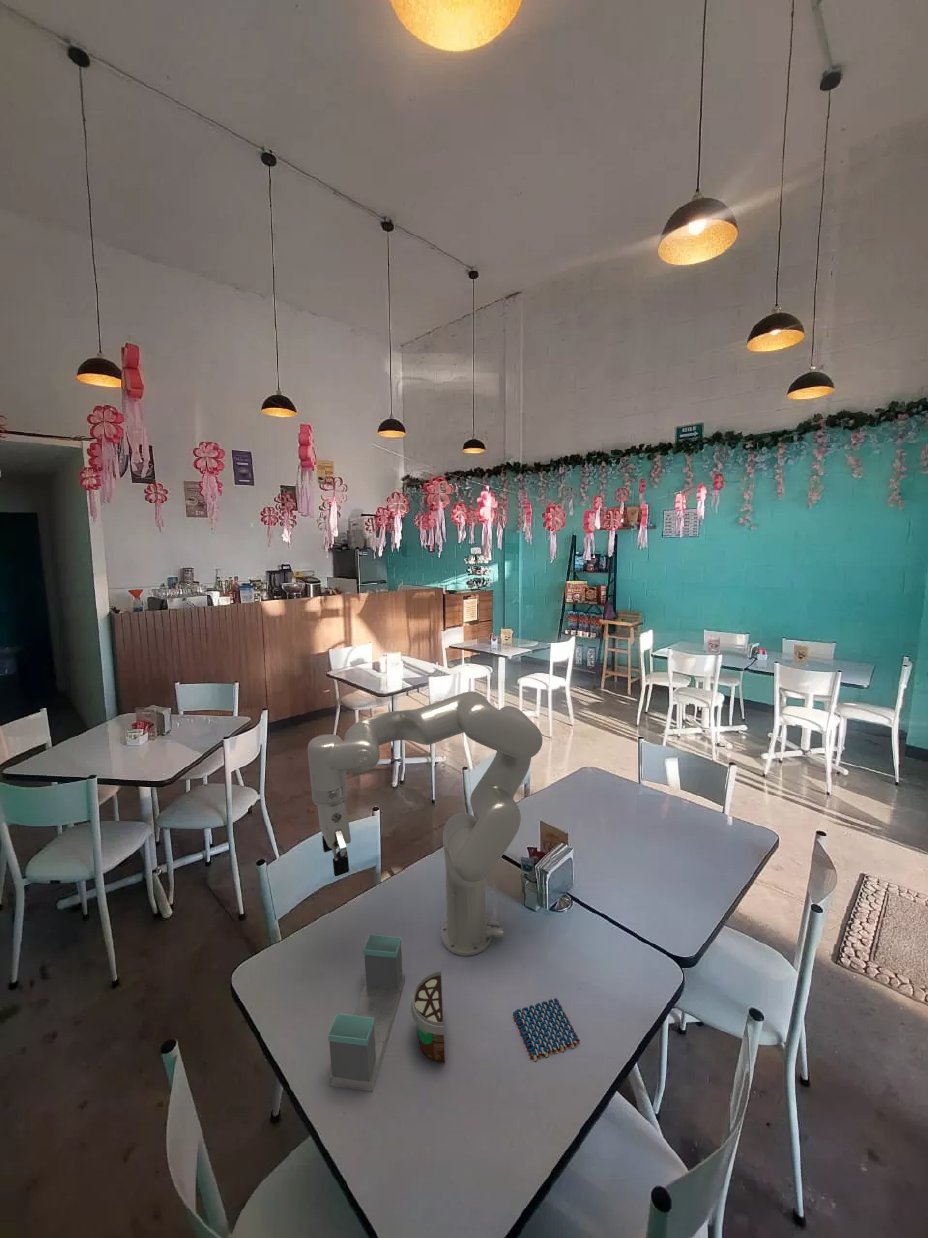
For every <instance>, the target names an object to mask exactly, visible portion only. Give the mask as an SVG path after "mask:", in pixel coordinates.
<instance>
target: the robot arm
mask: <svg viewBox="0 0 928 1238" xmlns="http://www.w3.org/2000/svg"><path fill="white" fill-rule="evenodd" d="M346 730H347V731H346V732H345V734H344V737H343V738H344V739H342V738H341V737H340V736H339V735H337V734H332V733H330V734H328V733H327V734H321V735H317V736H316V737H313V738H312V739H310V740H309V742H308V745H307V757H308V766H309V776H310V788H311V798H312V803H313V804H314V805H316V806H317V813H318V814H317V815H318V822H319V823H318V824H319V828H320V832H321V834H322V835H321V840H322V848H323V852H324V853H329V852H331V851H332V854H333V858H332V867H333V875H334V876H335V877H339V876H341V875H343V874H344V875H345V874H347V873H349V872H350V866H349V865H350V864H349V855H348V851H347V849H348V848H347V844H350V843H351V841H352V837H351V830H350V829H351V828H350V823H349V814H348V810H347V809H348V808H347V804H346V799H347V797H348V783H347V773H346V772H351V773H363V772H368V771H371V770H373V769H374V768H375V767H376V766H377V765H378V763H379V762H380V760H381V759H380V757H381V750H380V746H383V745H385V744H388V743H393V742H396V741H408V742H409V741H410V742H413V743H417V744H419V745H425V746H430V745H433V744H436V743H439V742H441V741H443V740H446V739H449V738H452V737H455V736H458V735H461V734H463V733H464V734H465V736H466V737H468V738H469V739H470V740H472V741H474V742H475V743H478V744H479V745H482V746H484V747H487V748H489V749H491V750H494V751H495V752H496V753H495V756H494V758H493V760H492V761H491V763H490V764H489V767H488V768H487V769H486V771H485V772H484V773H483V775H482V777H481V778H480V780H479V781H478V782H477V784H476V786H475V787H474V788H473V790H472V792H471V795H470V798H469V799H470V800H469V803H470V807H471V809H472V812H473V815H472V814H470V813H467V812H458V813H454V814H453V815H452V816H450V817H449V818H448V820H447V821H446V822H445V824H444V827H443V831H442V842H443V845H442V846H443V852H444V865H445V867H444V868H445V890H446V891H445V892H446V893H445V895H446V922H445V923H444V924H443V926H442V927H441V932H440V935H441V937H440V938H441V942H442V944H443V946H444V947H445V948H446V949H447V950H448V951H449V952H451V953H453V954H455V955H457V956H463V957H464V956H467V957H468V956H474V955H477V954H480V953H482V952H483V951H485V950H486V949H487V948H488V947H489V945H491V942H492V939H493V937H496V938H504V934H505V932H504V931H505V928H504V927H500V921H499V920H498V921H495V920H494V921H492V920H491V919H489V914H488V912H486V878H487V876H489V874H491V873H492V871H493V870H494V869H495V867H496V866H497V864H498V863H499V862H500V860H501V858H502V856H503V855H504V854H505V853H506V851H507V850H508V848H509V847H510V845H511V844H512V842H513V840H514V839H515V837H516V836H517V834H518V832H519V829H520V826H521V819H522V818H521V816H522V815H521V810H520V808H519V806H518V804H517V802H516V801H515V799H514V797H515V795H516V793H517V792H518V789H519V788H520V786H521V785H522V783H523V781H524V779H525V778H526V776H527V774H528V772H529V769H530V765H531V761H532V758H533V757H534V756H536V755H537V754H539V751H540V750H541V749H542V746H543V735H542V732H541V730H540V729H539V727H538V726H537V725H536V723H534V721H533V720H531V719H530V718H529V717H528V716H527V715H526V714H525V713H524V712H523V711H521V710H520V709H519V708H518V707H515V706H512V705H505V706H503V707H501V708H500V709H499V708H496V707H495V706H494V705H492V704H491V703H490V701H489V700H488V699H487V698H486V697H485V696H483V695H482V693H479V692H478V691H471V690H470V691H467V692H462V693H459V694H457V695H456V694H455V695H453V696H451V697H447V698H445V699H442V700H439V701H436V702H433V703H431V704H428V705H425V706H422V707H419V708H415V709H405V710H404V709H402V710H396V711H395V710H392V711H388V712H384V713H380V714H379V713H378V714H376V715H373V716H370V717H368V718H364V719H362V720H360V721H358V722H355V723H354V724H352V725H351V726H350V727H349V728H348V729H346ZM336 849H338V851H337V850H336Z"/></svg>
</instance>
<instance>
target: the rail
mask: <svg viewBox="0 0 928 1238" xmlns="http://www.w3.org/2000/svg"><path fill="white" fill-rule="evenodd" d="M405 982H406V975H405V973H403V972H402V976H401V980H400V983H399V986H398V989H392V988H383V987H374V986H366V981H365V983H364V985H363V988H362V991H361V992H360V995H359V998H358V1001H357V1003H356V1005H355V1008H354V1011H353V1014H352V1015H354V1016H362V1017H371V1018H374V1020H375V1024H374V1032H375V1049H376V1062H375V1065H374V1068H373V1071H372V1075H371V1078H370V1081H369V1082H365V1081H358V1080H351V1079H343V1078H336V1077H332V1070H331V1071H330V1073H329V1086H330V1087H335V1088H344V1089H352V1090H356V1091H357V1090H358V1091H364V1092H371V1093H372V1092H373V1091H374V1087H375V1084H376V1081H377V1078H378V1074H379V1071H380V1067H381V1064H382V1060H383V1058H384V1054H385V1050H386V1047H387V1043H388V1040H389V1037H390V1034H391V1029H392V1027H393V1023H394V1019H395V1016H396V1012H397V1011H398V1006H399V1003H400V999H401V996H402V993H403V989H404V985H405Z"/></svg>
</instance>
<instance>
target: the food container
mask: <svg viewBox="0 0 928 1238" xmlns="http://www.w3.org/2000/svg"><path fill="white" fill-rule="evenodd" d="M442 983H443V982H442V970H439V971H437V970H436V971H434V972H432V973H429V974H427V975H426V976H424V977H423V978H422V979H421V980H420V981H419V983H418V984H417V985H416V988H415V989H414V991H413V994H412V998H411V999H412V1000H411V1004H410V1011H411V1016H412V1018H413V1021H414V1022H415V1023H416V1031H417V1032H416V1033H417V1041H418V1046H419V1047H418V1048H419V1049H420V1052H421V1053H422V1055H423V1056H424V1058H426V1059H428V1060H429V1061H431V1062H435V1063H439V1064H445V1063H446V1055H445V1054H446V1052H445V1027H444V1025H445V1023H444V1016H443V1014H444V1013H443V985H442Z"/></svg>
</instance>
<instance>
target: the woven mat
mask: <svg viewBox="0 0 928 1238" xmlns="http://www.w3.org/2000/svg"><path fill="white" fill-rule="evenodd" d="M512 1016H513V1017H514V1018H513V1020H514V1021H515V1023H516V1024H517V1028H518V1031H520V1033H519V1034H520V1036H521V1038H522V1039H523V1042H524V1044H525V1047H526V1050H528V1051H527V1052H528V1054H530V1056H529V1058H530V1059H531V1060H533V1061H538V1057H539V1059H541V1058H543V1055H544V1057H545V1058H548V1057H549V1055H553V1052H554V1053H555V1055H558V1054H560V1052H561V1053H562V1052H564V1051H565V1050H568V1049H569V1046H570V1048H571V1049H573V1048H575V1046H580V1045H579V1043H580V1041H581V1040H580V1038H579V1037H578V1035H577V1032H575V1031H574V1027H573V1025H572V1024H571V1022H570V1020H569V1018H568V1016H567V1015H566V1013H565V1011H563V1006H562V1005H561V1004H560V1001H559V999H558V998H557V997H555V998H552V997H550V999H546V1000H545V1001H544V1000H541V1002H540V1001H539V1002H538V1003H537V1002H536V1004H530V1005H529V1006H528V1005H527V1006H526V1007H525V1006H524V1007H522V1008H517V1009H516V1010H515V1011H513V1012H512ZM559 1051H560V1052H559Z"/></svg>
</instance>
